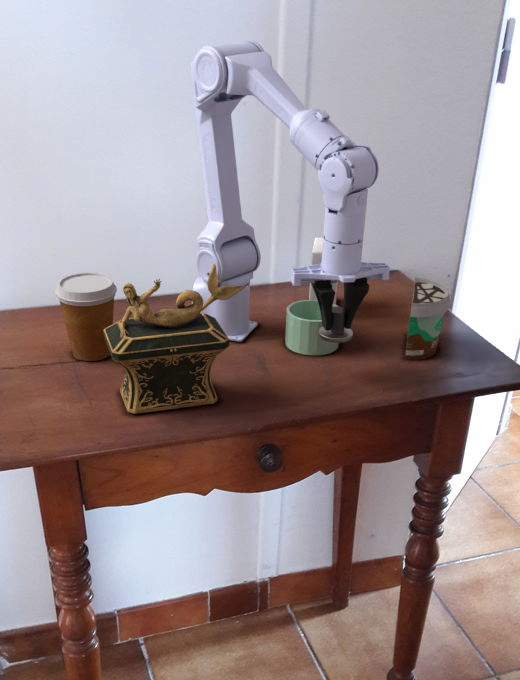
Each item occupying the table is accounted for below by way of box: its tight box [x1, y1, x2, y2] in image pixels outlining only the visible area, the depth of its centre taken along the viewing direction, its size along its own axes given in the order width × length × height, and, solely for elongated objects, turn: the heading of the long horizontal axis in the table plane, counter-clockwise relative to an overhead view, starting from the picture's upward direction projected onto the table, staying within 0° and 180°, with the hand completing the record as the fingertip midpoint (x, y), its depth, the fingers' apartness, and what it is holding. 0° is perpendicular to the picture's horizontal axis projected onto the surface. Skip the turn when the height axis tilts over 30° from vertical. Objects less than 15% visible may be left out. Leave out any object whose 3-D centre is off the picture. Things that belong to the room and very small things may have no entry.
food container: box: [404, 277, 451, 360], centre depth 140 cm, size 12×6×10 cm, turn 168°
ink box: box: [308, 236, 339, 305], centre depth 153 cm, size 9×5×12 cm, turn 172°
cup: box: [284, 299, 340, 356], centre depth 142 cm, size 9×9×6 cm
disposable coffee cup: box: [54, 271, 118, 362], centre depth 136 cm, size 10×10×12 cm
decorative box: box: [103, 263, 246, 415], centre depth 122 cm, size 20×10×20 cm, turn 107°
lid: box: [318, 306, 354, 344], centre depth 129 cm, size 5×5×4 cm
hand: (335, 327), depth 129 cm, fingers closed on lid, 2 cm apart
